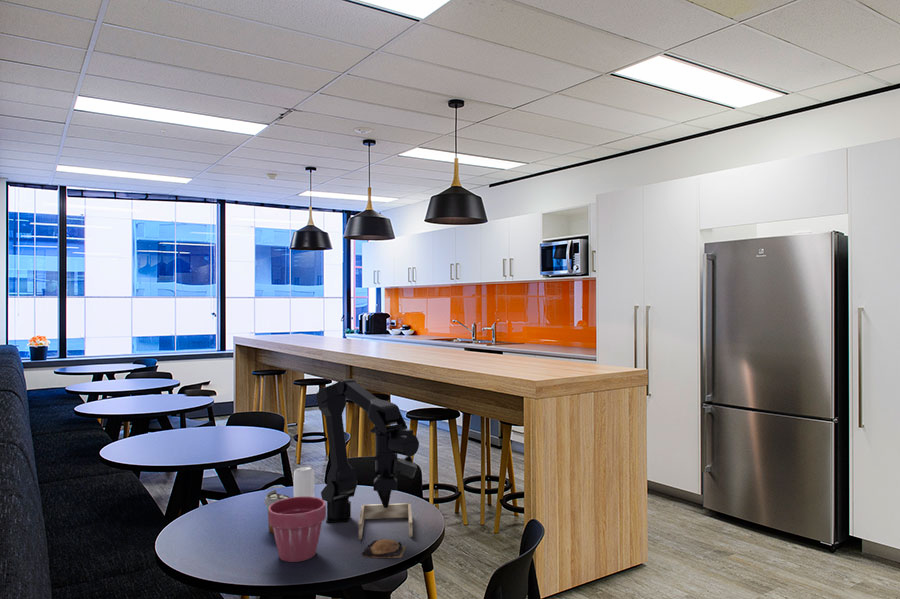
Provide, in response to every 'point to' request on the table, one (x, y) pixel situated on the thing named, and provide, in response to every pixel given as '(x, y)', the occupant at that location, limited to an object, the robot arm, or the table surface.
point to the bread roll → (384, 549)
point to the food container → (271, 499)
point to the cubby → (385, 514)
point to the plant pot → (297, 526)
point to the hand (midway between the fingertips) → (386, 507)
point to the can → (304, 481)
